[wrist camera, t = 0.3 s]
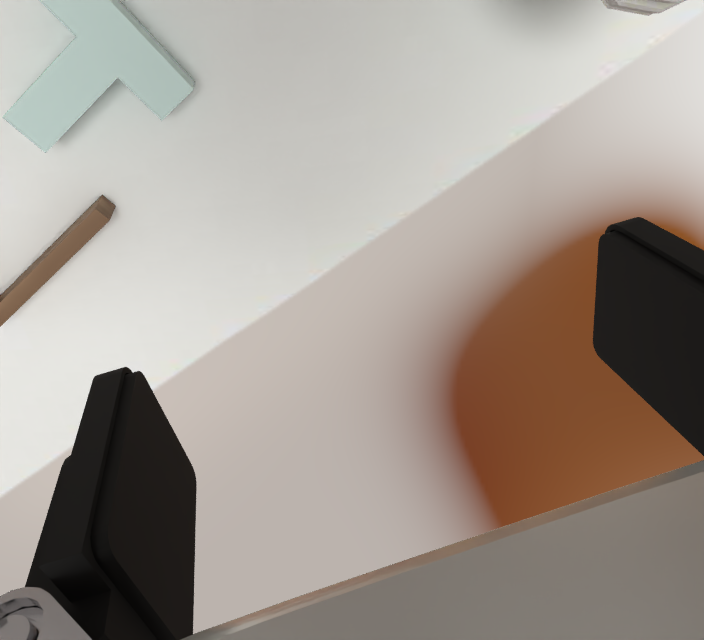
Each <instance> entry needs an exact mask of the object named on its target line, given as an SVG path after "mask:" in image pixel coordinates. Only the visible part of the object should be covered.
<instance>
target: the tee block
mask: <svg viewBox="0 0 704 640" xmlns="http://www.w3.org/2000/svg"><path fill="white" fill-rule="evenodd" d="M39 1H40V2H41V3H42V4H43V5H44V6H45V7H46V8H47V9H48V10H49V11H50V12H51V13H52V14H53V15H54V16H55V17H56V18H57V19H58V20H59V21H60V22H61V23H62V24H64V25H65V26H66V27H67V28H68V29H69V30H70V31H71V32H72V33H73V34H74V35H75V36H76V38H75V39H74V40H73V41H72V42H71V43H70V44H69V45H68V46H67V47H66V48H65V50H64V51H63V52H62V53H61V54H60V55H59V56H58V57H57V58H56V59H55V60H54V61H53V63H52V64H51V65H50V66H49V67H48V68H47V69H46V70H45V71H44V72H43V73H42V75H41V76H40V77H39V78H38V79H37V80H36V81H35V82H34V83H33V84H32V85H31V86H30V88H29V89H28V90H27V91H26V92H25V93H24V94H23V95H22V96H21V97H20V98H19V99H18V101H17V102H16V103H15V104H14V105H13V106H12V107H11V108H10V109H9V110H8V111H7V112H6V114H5V115H4V116H3V117H2V118H4V119H5V120H6V121H7V122H8V123H10V124H11V125H12V126H13V127H14V128H16V129H17V130H18V131H19V132H21V133H22V134H23V135H24V136H25V137H27V138H28V139H29V140H30V141H31V142H33V143H34V144H35V145H36V146H37V147H39V148H40V149H41V150H42V151H44V152H45V153H46V152H47V151H48V150H49V149H50V148H51V147H52V146H53V145H54V144H55V143H56V142H57V141H58V140H59V139H60V138H61V136H62V135H63V134H64V133H65V132H66V131H67V130H68V129H69V128H70V127H71V126H72V125H73V124H74V123H75V122H76V121H77V120H78V119H79V118H80V117H81V116H82V115H83V114H84V113H85V112H86V110H87V109H88V108H89V107H90V106H91V105H92V104H93V103H94V102H95V101H96V100H97V99H98V98H99V97H100V96H101V95H102V94H103V93H104V92H105V91H106V90H107V89H108V88H109V87H110V85H111V84H112V83H113V82H114V81H115V80H116V79H117V78H119V79H120V80H121V81H122V82H123V83H124V84H125V85H126V86H127V87H128V88H129V89H130V90H131V91H132V92H133V93H134V94H135V95H136V96H137V97H138V98H139V99H140V100H141V101H142V102H143V103H144V104H145V105H146V106H147V107H148V108H149V109H150V110H151V111H152V112H153V113H154V114H155V115H156V116H157V117H158V118H159V119H160V120H161V121H162V120H163V119H164V118H165V117H166V116H167V115H168V114H169V113H170V112H171V111H172V110H173V109H174V108H175V107H176V106H177V105H179V104H180V103H181V102H182V101H183V100H184V99H185V98H186V97H187V96H188V95H189V94H190V93H191V92H192V91H193V90H194V83H195V81H194V80H193V79H192V78H191V77H190V76H189V75H188V74H187V72H186V71H185V70H184V69H183V68H182V67H181V66H180V65H179V64H178V63H177V62H176V61H175V60H174V59H173V57H172V56H171V55H170V54H169V53H168V52H167V51H166V50H165V49H164V48H163V47H162V46H161V45H160V44H159V43H158V41H157V40H156V39H155V38H154V37H153V36H152V35H151V34H150V33H149V32H148V31H147V30H146V29H145V28H144V26H143V25H142V24H141V23H140V22H139V21H138V20H137V19H136V18H135V17H134V16H133V15H132V14H131V13H130V11H129V10H128V9H127V8H126V7H125V6H124V5H123V4H122V3H121V2H120V1H119V0H39Z"/></svg>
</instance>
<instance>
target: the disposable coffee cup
mask: <svg viewBox="0 0 704 640" xmlns="http://www.w3.org/2000/svg"><path fill="white" fill-rule="evenodd" d="M601 1H602V2H603V3H604V5H605V6H606V7H607V8H610V9H615V10H621V11H626V12H631V13H637V14H642V15H648V16H649V15H651V14H653V13H661V12H663V11H665V10H667V9H669V8H671V7H673V6H675V5H677V4H680V3H682V2H684V1H686V0H601Z"/></svg>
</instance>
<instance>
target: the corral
mask: <svg viewBox="0 0 704 640" xmlns="http://www.w3.org/2000/svg"><path fill="white" fill-rule="evenodd" d="M114 209H115V205H114V204H113V203H111V202H110V201H109V200H108V199H107V198H105V197H104V196H103V195H102V196H101V197H100V198H99V199H98V200H97V201H96V202H95V203H94V204H93V205H91V206H90V207H89V208H88V209H87V210H86V211H85V212H84V213H83V214H82V215H81V216H80V217H79V218H78V219H77V220H76V221H75V222H74V223H73V224H72V225H71V226H70V227H69V228H68V229H67V230H66V231H65V232H64V233H63V234H62V235H61V236H60V237H59V238H58V239H57V240H56V241H55V242H54V243H53V244H52V245H51V246H50V247H49V248H48V249H47V250H46V251H45V252H44V253H43V254H42V255H41V256H40V257H39V258H38V259H37V260H36V261H35V262H34V263H33V264H32V265H31V266H30V267H29V268H28V269H27V270H26V271H25V272H24V273H23V274H22V275H21V276H20V277H19V278H18V279H17V280H16V281H15V282H14V283H13V284H12V285H11V286H10V287H9V288H8V289H7V290H6V291H5V292H4V293H3V294H2V295H0V327H1V326H2V325H3V324H4V323H5V322H6V321H7V320H8V319H9V318H10V317H11V316H12V315H13V314H14V313H15V312H16V311H17V310H18V309H19V308H20V307H21V306H22V305H23V304H24V303H25V302H26V301H27V300H28V299H29V298H30V297H31V296H32V295H33V294H34V293H35V292H37V291H38V290H39V289H40V288H41V287H42V286H43V285H44V284H45V283H46V282H47V281H48V280H49V279H50V278H51V277H52V276H53V275H54V274H55V273H56V272H57V271H58V270H59V269H60V268H61V267H62V266H63V265H64V264H65V263H66V262H67V261H68V260H69V259H70V258H71V257H72V256H73V255H75V254H76V253H77V252H78V251H79V250H80V249H81V248H82V247H83V246H84V245H85V244H86V243H87V242H88V241H89V240H90V239H91V238H92V237H93V236H94V235H95V234H96V233H97V232H98V231H99V230H100V229H101V228H102V227H103V226H104V225H105V224H106V223H107V222H108V221H109V220H110V218H111V216H112V214H113V211H114Z"/></svg>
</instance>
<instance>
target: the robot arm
mask: <svg viewBox="0 0 704 640" xmlns="http://www.w3.org/2000/svg"><path fill="white" fill-rule="evenodd" d="M593 344H594V348H595V351H596V353H597V355H598V356H599V357H600V358H601V359H602V360H603V361H604V362H605V363H606V364H607V365H608V366H609V367H610V368H611V369H612V370H613V371H614V372H615V373H617V374H618V375H619V376H620V377H621V378H622V379H623V380H624V381H625V382H626V383H627V384H628V385H629V386H630V387H631V388H632V389H633V390H634V391H636V392H637V393H638V394H639V395H640V396H641V397H642V398H643V399H644V400H645V401H646V402H647V403H648V404H649V405H651V407H652V408H654V409H655V410H656V411H657V412H658V413H659V414H660V415H661V416H662V417H663V418H664V419H665V420H666V421H667V422H668V423H669V424H670V425H672V426H673V427H674V428H675V429H676V430H677V431H678V432H679V433H680V434H681V435H682V436H683V437H684V438H685V439H686V440H687V441H688V442H689V443H691V444H692V445H693V446H694V447H695V448H696V449H697V450H698V451H699V452H700V453H701V454H702V455H703V456H704V251H703V250H702V249H700V248H698V247H696V246H694V245H692V244H690V243H689V242H687V241H685V240H683V239H681V238H679V237H677V236H675V235H674V234H672V233H670V232H668V231H666V230H664V229H662V228H660V227H658V226H656V225H655V224H653V223H651V222H649V221H647V220H645V219H643V218H640V217H637V218H633V219H629V220H626V221H622V222H619V223H615V224H612V225H610V226H609V227H608V228H607V230H606V231H605V234H603V235H602V236H601V237H600V239H599V247H598V265H597V280H596V298H595V315H594V331H593ZM195 521H196V477H195V472H194V469H193V467H192V464H191V463H190V461H189V459H188V457H187V456H186V453H185V451H184V449H183V448H182V446H181V444H180V442H179V440H178V438H177V436H176V434H175V433H174V431H173V429H172V427H171V425H170V424H169V421H168V419H167V418H166V416H165V414H164V412H163V410H162V409H161V406H160V404H159V403H158V401H157V399H156V397H155V395H154V393H153V391H152V389H151V388H150V386H149V384H148V382H147V380H146V378H145V376H144V375H143V373H142V372H140V371H137V372H134V373H132V371H131V370H130V369H129V368H127V367H124V368H120V369H117V370H113V371H110V372H107V373H103V374H100V375H97V376H95V377H94V379H93V382H92V385H91V388H90V392H89V395H88V399H87V402H86V406H85V409H84V412H83V416H82V419H81V423H80V426H79V429H78V433H77V436H76V440H75V443H74V446H73V450H72V454H71V456H69V457H68V458H66V459H65V461H64V463H63V465H62V467H61V471H60V474H59V477H58V481H57V484H56V487H55V491H54V494H53V497H52V500H51V504H50V507H49V510H48V513H47V517H46V520H45V523H44V526H43V530H42V533H41V536H40V540H39V543H38V546H37V549H36V553H35V556H34V559H33V562H32V566H31V569H30V572H29V575H28V579H27V582H26V585H25V587H24V588H20V589H16V590H12V591H10V592H8V593H6V594H4V595H2V596H0V640H704V460H703V461H700V462H697V463H694V464H691V465H688V466H685V467H682V468H679V469H676V470H673V471H670V472H667V473H663V474H660V475H658V476H655V477H652V478H648V479H645V480H642V481H639V482H636V483H633V484H630V485H627V486H624V487H621V488H618V489H615V490H612V491H609V492H606V493H603V494H600V495H597V496H594V497H591V498H588V499H585V500H582V501H579V502H576V503H573V504H570V505H567V506H564V507H561V508H558V509H555V510H552V511H549V512H546V513H543V514H540V515H537V516H534V517H531V518H529V519H525V520H522V521H519V522H517V523H513V524H510V525H507V526H504V527H502V528H498V529H495V530H492V531H490V532H486V533H484V534H481V535H478V536H475V537H472V538H469V539H466V540H463V541H460V542H457V543H454V544H451V545H448V546H445V547H442V548H439V549H436V550H433V551H430V552H427V553H424V554H421V555H418V556H416V557H413V558H410V559H407V560H404V561H401V562H398V563H395V564H392V565H389V566H386V567H383V568H380V569H377V570H375V571H372V572H369V573H366V574H363V575H360V576H357V577H354V578H351V579H348V580H345V581H342V582H339V583H336V584H333V585H331V586H328V587H325V588H322V589H319V590H316V591H313V592H310V593H307V594H304V595H301V596H299V597H295V598H293V599H290V600H287V601H284V602H282V603H279V604H276V605H273V606H271V607H268V608H265V609H262V610H259V611H256V612H254V613H251V614H248V615H245V616H243V617H240V618H237V619H234V620H231V621H229V622H226V623H223V624H220V625H218V626H215V627H212V628H209V629H206V630H204V631H201V632H198V633H195V634H193V605H194V562H195Z"/></svg>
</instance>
